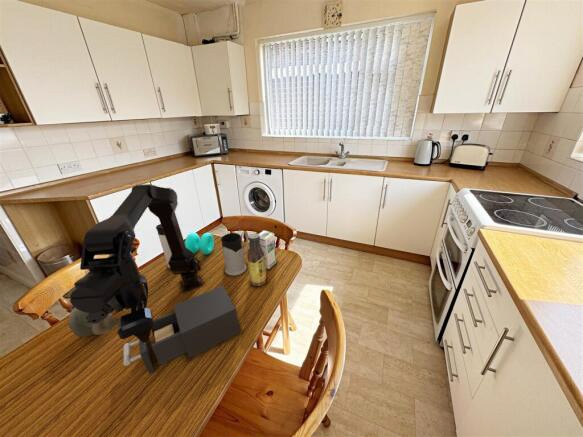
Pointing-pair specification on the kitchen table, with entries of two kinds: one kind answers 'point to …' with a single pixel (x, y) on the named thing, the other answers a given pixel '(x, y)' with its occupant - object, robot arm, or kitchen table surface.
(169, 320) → the open drawer
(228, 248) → the grey black mug
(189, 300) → the dark grey box
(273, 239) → the syrup box
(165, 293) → the kitchen table surface
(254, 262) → the sauce bottle
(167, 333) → the block
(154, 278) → the kitchen table surface
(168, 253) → the travel mug
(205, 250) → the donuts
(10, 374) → the kitchen table surface
